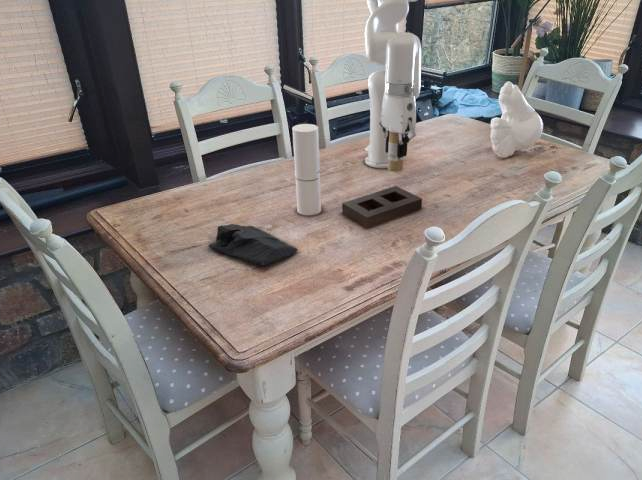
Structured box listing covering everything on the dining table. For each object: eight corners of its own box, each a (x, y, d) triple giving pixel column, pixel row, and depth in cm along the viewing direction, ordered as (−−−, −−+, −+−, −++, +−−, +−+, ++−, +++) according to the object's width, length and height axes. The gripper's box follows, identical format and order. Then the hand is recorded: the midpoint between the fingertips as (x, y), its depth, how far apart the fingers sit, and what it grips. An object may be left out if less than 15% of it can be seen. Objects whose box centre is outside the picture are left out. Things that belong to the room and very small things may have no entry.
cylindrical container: (324, 207, 164) (322, 125, 150) (315, 216, 159) (312, 133, 145) (303, 203, 166) (298, 122, 152) (293, 213, 161) (288, 130, 147)
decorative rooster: (521, 121, 214) (495, 73, 198) (555, 123, 201) (530, 73, 186) (486, 170, 211) (457, 125, 196) (518, 175, 199) (489, 128, 183)
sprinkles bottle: (406, 170, 157) (408, 124, 149) (393, 173, 155) (395, 127, 147) (396, 165, 160) (398, 120, 152) (384, 168, 158) (385, 122, 150)
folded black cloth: (259, 275, 132) (257, 259, 129) (204, 247, 144) (201, 231, 141) (303, 252, 142) (302, 236, 139) (248, 226, 154) (246, 211, 151)
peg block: (342, 213, 161) (342, 203, 159) (395, 196, 171) (395, 185, 169) (367, 228, 153) (367, 217, 151) (421, 209, 163) (422, 198, 161)
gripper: (431, 92, 141) (425, 159, 151) (389, 80, 152) (386, 143, 162) (409, 97, 137) (405, 165, 147) (368, 84, 148) (367, 148, 158)
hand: (395, 153), depth 155 cm, fingers closed on sprinkles bottle, 4 cm apart
